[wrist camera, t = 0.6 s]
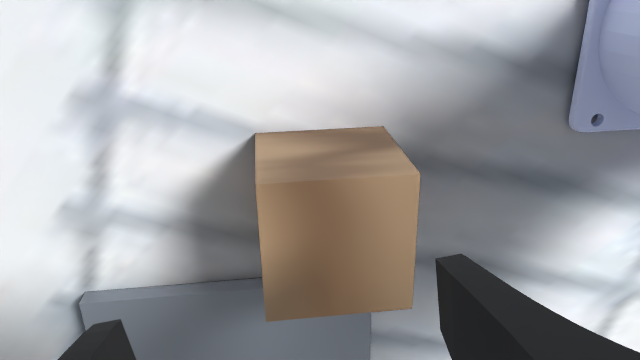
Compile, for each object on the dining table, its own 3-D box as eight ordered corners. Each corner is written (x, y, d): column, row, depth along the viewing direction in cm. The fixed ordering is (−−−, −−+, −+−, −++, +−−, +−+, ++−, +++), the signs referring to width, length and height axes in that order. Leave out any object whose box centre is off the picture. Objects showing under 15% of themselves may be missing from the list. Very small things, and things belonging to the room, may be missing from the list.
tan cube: (383, 125, 20) (420, 173, 16) (379, 236, 22) (411, 308, 18) (255, 132, 20) (255, 184, 15) (263, 245, 22) (265, 322, 17)
